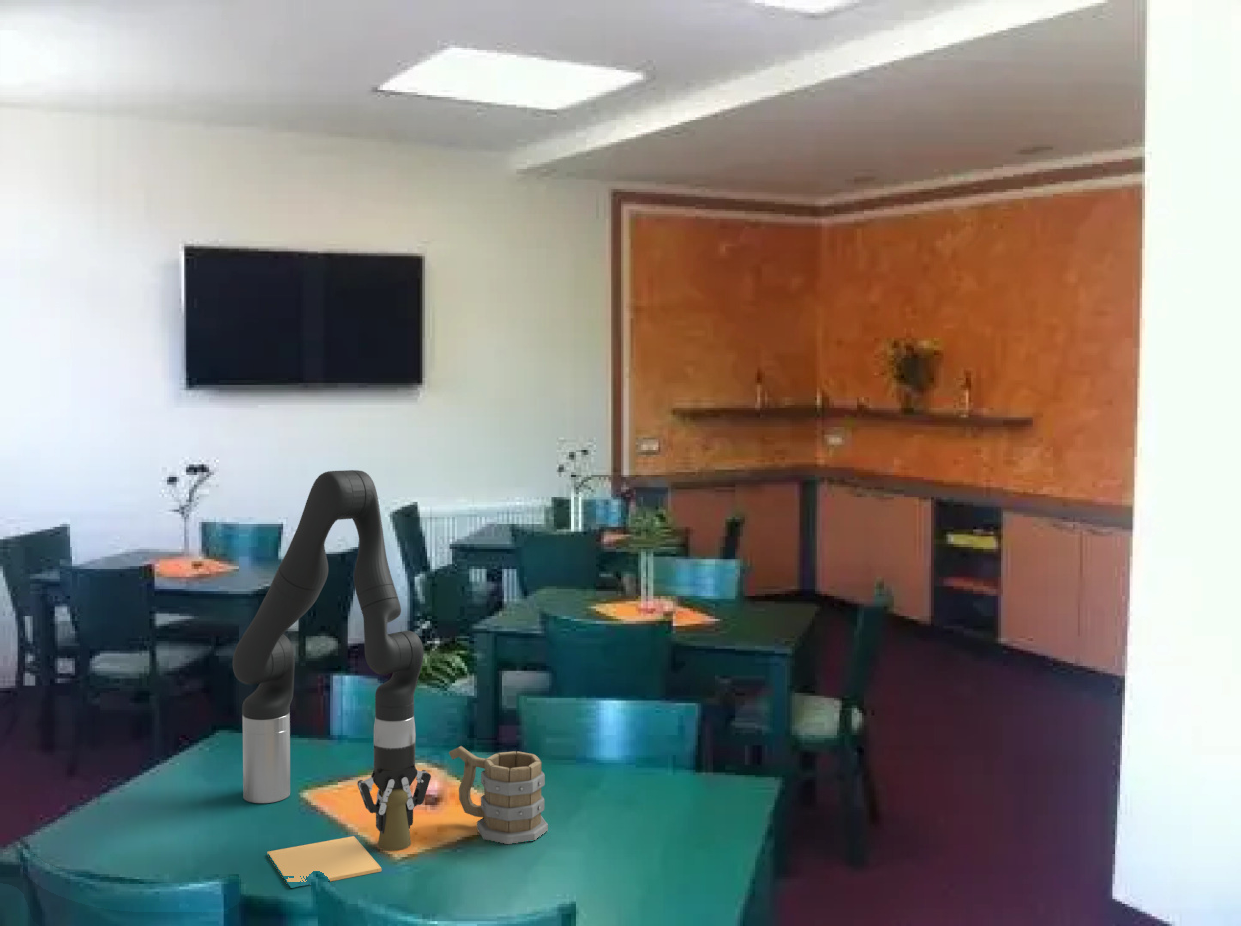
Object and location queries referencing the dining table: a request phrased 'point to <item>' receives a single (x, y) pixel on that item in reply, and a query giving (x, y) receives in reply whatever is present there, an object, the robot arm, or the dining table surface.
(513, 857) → the dining table surface
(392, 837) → the cork
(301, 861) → the placemat
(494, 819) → the tankard
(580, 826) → the dining table surface
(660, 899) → the dining table surface
